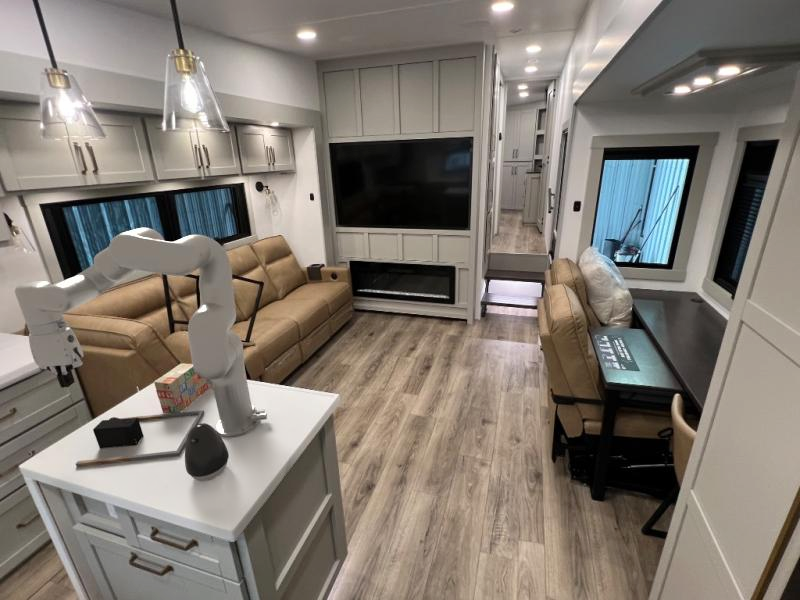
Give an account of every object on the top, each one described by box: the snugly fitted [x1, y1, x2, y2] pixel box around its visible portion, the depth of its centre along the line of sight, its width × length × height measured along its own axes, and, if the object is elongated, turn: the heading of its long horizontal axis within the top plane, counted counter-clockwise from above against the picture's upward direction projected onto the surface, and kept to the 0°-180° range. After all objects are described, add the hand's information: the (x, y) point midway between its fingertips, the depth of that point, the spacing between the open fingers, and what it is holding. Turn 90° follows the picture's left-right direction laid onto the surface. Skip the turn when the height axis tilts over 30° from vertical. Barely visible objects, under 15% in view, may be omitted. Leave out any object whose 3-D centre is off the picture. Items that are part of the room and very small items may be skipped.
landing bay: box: [130, 409, 206, 462], centre depth 116 cm, size 13×20×1 cm, turn 7°
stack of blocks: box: [153, 362, 213, 414], centre depth 135 cm, size 21×6×12 cm, turn 168°
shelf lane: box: [75, 413, 163, 468], centre depth 115 cm, size 14×20×1 cm
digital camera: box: [92, 416, 144, 449], centre depth 114 cm, size 10×5×7 cm, turn 95°
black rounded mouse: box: [184, 422, 230, 482], centre depth 99 cm, size 10×10×15 cm
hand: (68, 384), depth 110 cm, fingers closed
